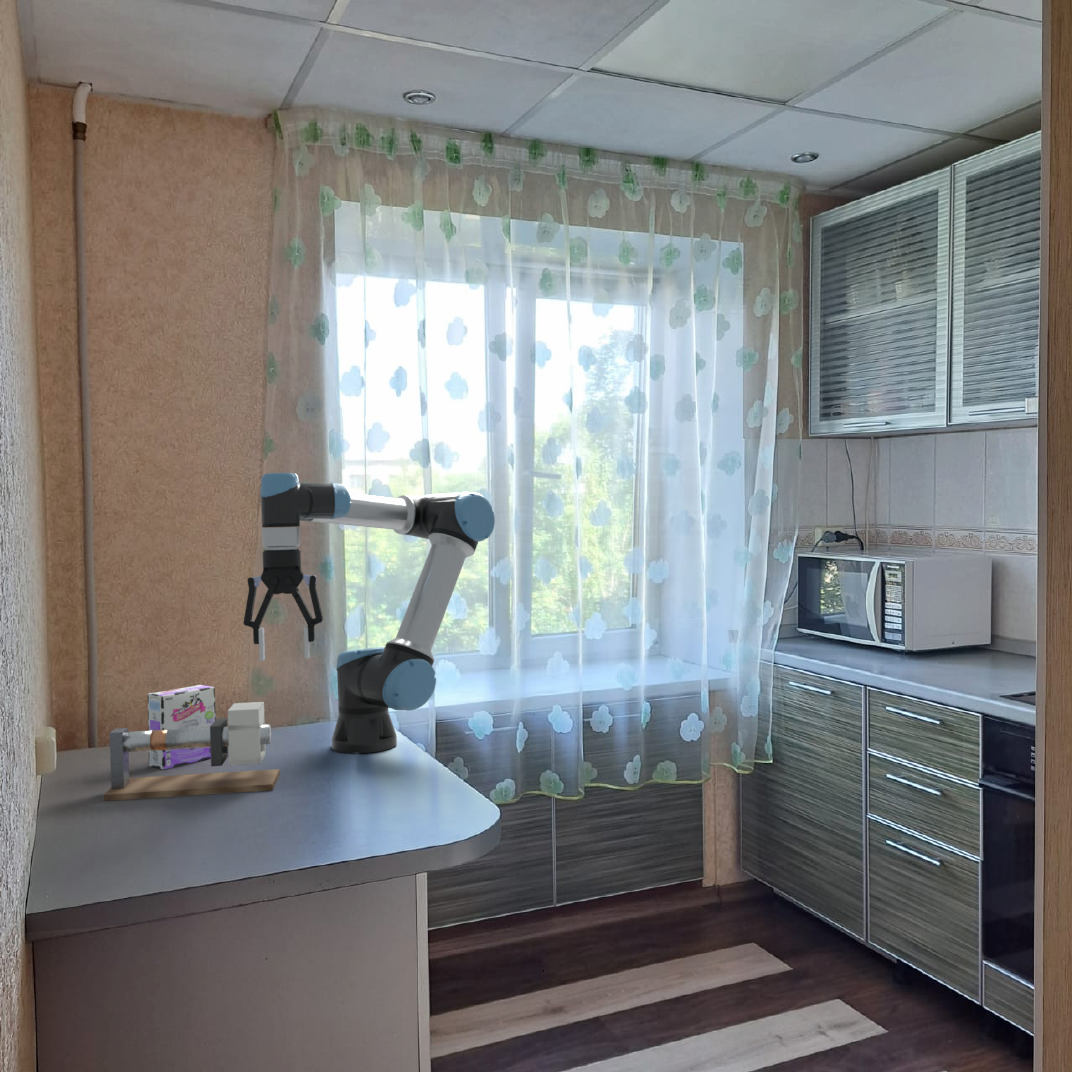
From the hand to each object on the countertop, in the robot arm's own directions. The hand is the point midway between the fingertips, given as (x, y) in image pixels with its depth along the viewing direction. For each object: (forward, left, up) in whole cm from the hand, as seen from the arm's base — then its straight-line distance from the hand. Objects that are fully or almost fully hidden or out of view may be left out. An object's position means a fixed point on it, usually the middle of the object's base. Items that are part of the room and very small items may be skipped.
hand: (284, 658), depth 200 cm
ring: (+14, 0, -20) cm, 24 cm away
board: (+19, 0, -25) cm, 31 cm away
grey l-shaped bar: (+19, 0, -24) cm, 31 cm away
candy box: (+26, -23, -26) cm, 43 cm away
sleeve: (+8, 0, -20) cm, 22 cm away
